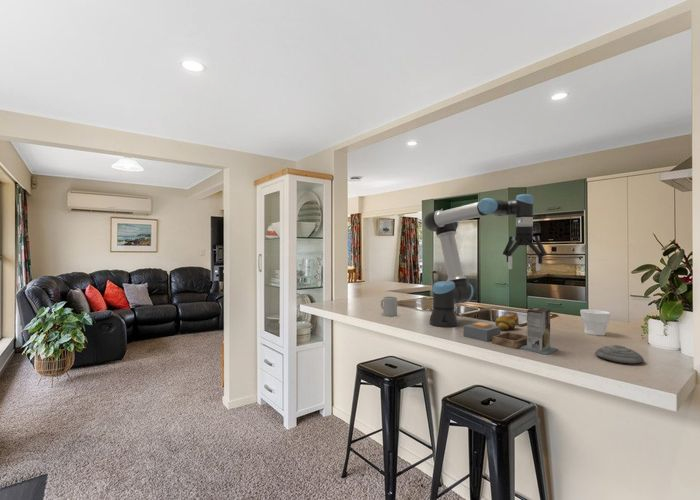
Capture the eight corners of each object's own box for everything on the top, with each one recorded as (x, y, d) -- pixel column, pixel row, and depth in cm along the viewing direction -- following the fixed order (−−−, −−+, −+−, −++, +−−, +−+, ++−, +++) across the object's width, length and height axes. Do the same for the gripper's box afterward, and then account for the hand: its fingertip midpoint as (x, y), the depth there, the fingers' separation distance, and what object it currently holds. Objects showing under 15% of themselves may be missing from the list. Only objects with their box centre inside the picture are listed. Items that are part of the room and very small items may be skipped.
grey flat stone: (591, 352, 147) (591, 338, 147) (635, 356, 142) (636, 342, 142) (600, 363, 134) (600, 348, 134) (650, 368, 128) (651, 353, 128)
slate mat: (519, 348, 151) (519, 347, 151) (531, 344, 158) (531, 342, 158) (546, 354, 142) (546, 353, 142) (558, 349, 149) (558, 348, 149)
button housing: (463, 336, 171) (463, 325, 171) (477, 332, 179) (477, 322, 179) (486, 341, 162) (487, 330, 162) (500, 337, 170) (500, 326, 169)
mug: (399, 315, 222) (400, 297, 222) (390, 317, 216) (390, 298, 216) (385, 312, 231) (385, 295, 231) (376, 314, 225) (376, 296, 225)
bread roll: (507, 332, 180) (508, 316, 180) (489, 329, 187) (489, 313, 187) (519, 328, 188) (519, 313, 188) (501, 325, 195) (501, 311, 195)
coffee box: (534, 344, 156) (534, 307, 156) (550, 347, 151) (551, 309, 151) (526, 348, 150) (526, 309, 149) (542, 351, 145) (543, 311, 145)
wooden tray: (491, 343, 159) (492, 336, 159) (507, 338, 168) (507, 331, 168) (516, 348, 150) (516, 341, 150) (531, 343, 159) (531, 336, 159)
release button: (472, 333, 171) (472, 323, 171) (479, 332, 175) (479, 321, 175) (484, 336, 166) (484, 325, 166) (491, 334, 170) (491, 324, 170)
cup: (575, 329, 186) (576, 308, 186) (602, 331, 183) (603, 309, 183) (586, 335, 174) (586, 313, 173) (615, 337, 171) (615, 314, 171)
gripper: (496, 227, 182) (495, 268, 182) (548, 225, 163) (547, 271, 163) (503, 227, 187) (503, 268, 187) (554, 225, 167) (554, 271, 167)
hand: (523, 269), depth 175 cm, fingers open, 13 cm apart
